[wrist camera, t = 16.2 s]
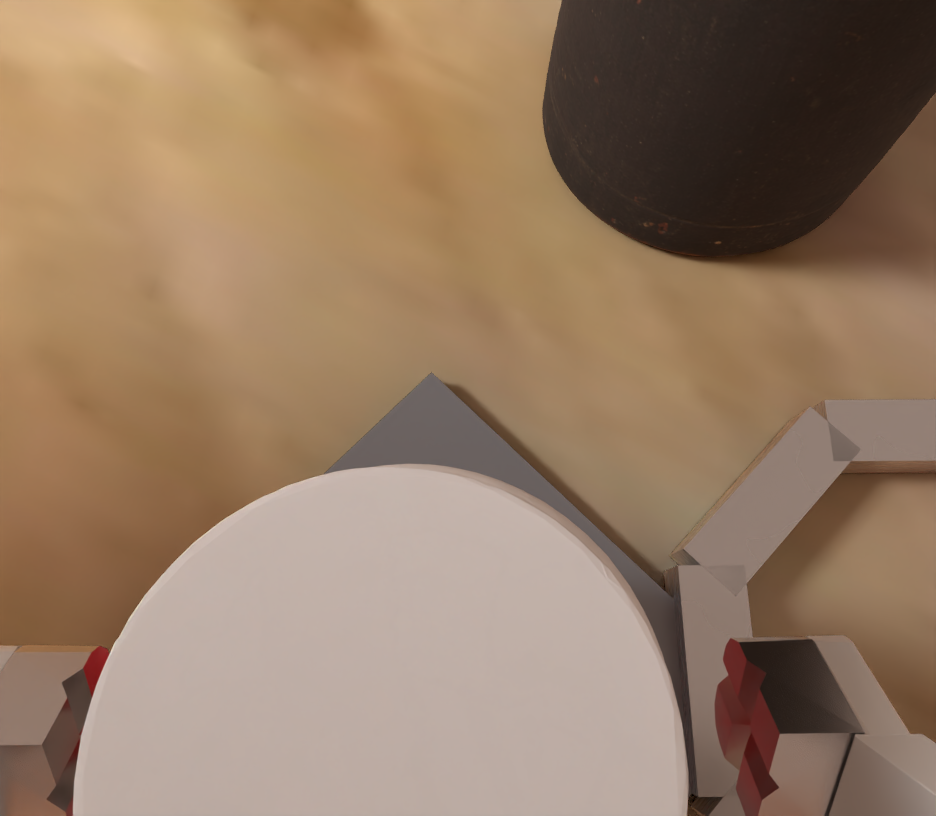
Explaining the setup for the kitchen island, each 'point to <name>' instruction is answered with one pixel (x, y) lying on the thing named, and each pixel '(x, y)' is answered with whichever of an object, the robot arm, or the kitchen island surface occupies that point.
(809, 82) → the container
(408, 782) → the pill bottle
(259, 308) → the kitchen island surface
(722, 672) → the collar
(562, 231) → the kitchen island surface
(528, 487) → the coaster
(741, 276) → the kitchen island surface
